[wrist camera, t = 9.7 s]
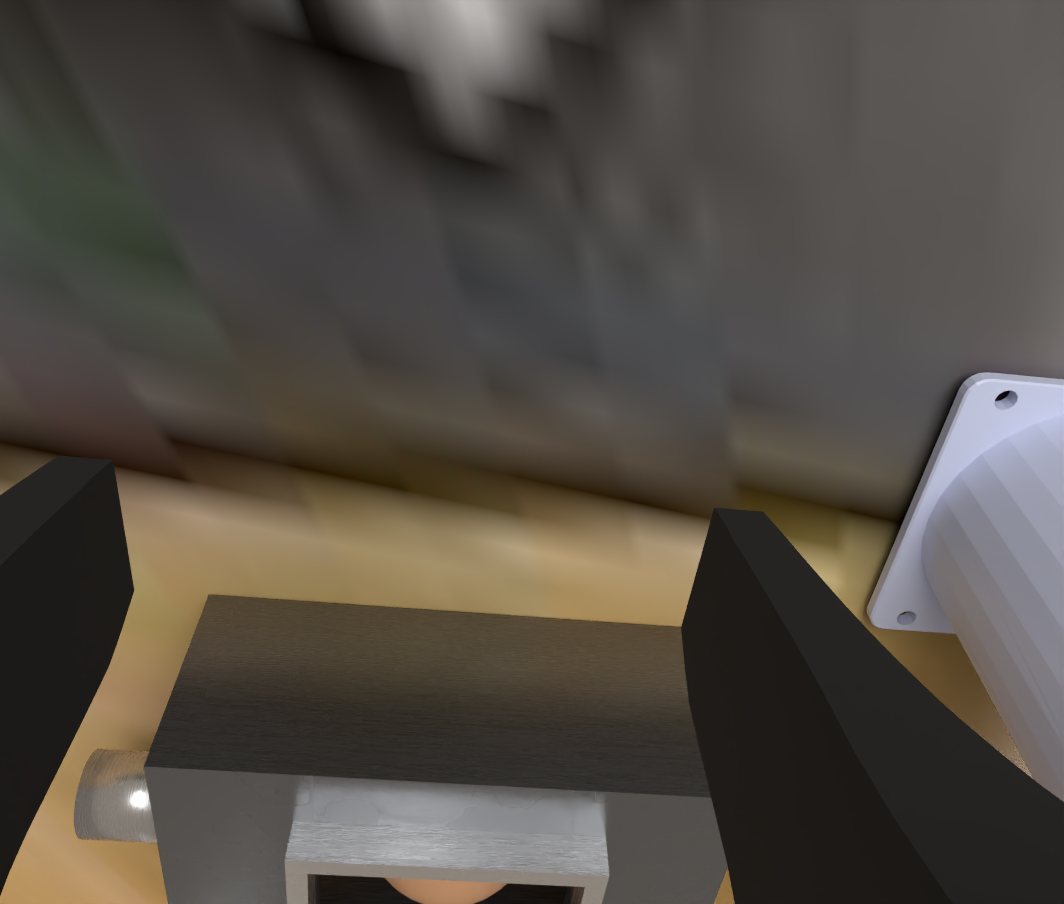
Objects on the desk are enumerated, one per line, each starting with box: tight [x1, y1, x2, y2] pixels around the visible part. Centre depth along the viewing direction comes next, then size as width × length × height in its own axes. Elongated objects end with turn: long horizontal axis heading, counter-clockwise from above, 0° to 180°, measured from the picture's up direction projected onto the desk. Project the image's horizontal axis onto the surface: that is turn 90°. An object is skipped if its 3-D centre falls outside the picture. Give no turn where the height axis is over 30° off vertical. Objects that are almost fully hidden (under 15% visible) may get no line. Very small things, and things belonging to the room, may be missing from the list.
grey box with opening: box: [74, 595, 728, 904], centre depth 27 cm, size 17×11×7 cm, turn 84°
